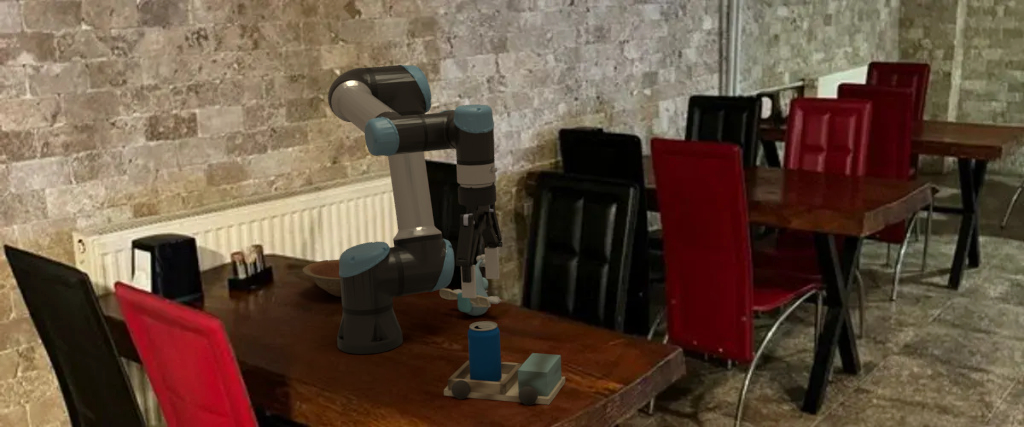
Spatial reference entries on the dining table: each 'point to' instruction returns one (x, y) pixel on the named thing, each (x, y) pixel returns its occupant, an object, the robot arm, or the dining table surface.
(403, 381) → the dining table surface
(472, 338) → the beverage can
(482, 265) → the toy figure
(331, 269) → the bowl
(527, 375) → the toy truck
